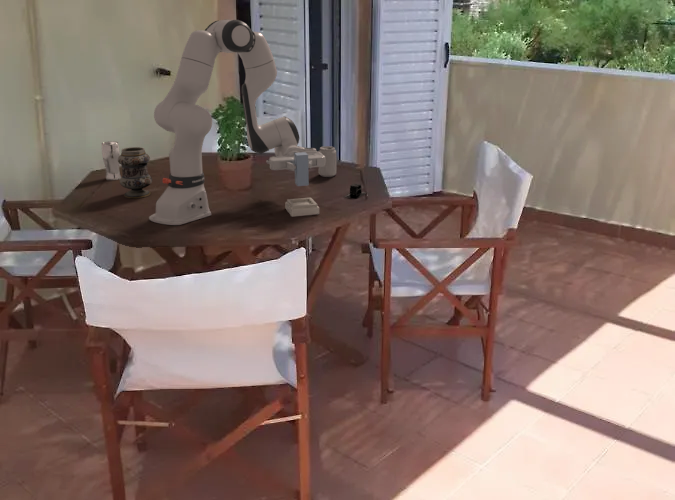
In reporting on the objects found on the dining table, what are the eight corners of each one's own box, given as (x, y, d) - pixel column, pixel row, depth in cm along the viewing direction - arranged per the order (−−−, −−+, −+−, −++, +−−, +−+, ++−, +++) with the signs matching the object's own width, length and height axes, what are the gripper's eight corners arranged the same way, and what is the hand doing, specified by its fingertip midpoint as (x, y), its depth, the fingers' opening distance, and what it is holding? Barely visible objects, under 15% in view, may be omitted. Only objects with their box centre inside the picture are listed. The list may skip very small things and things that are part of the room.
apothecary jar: (152, 189, 293) (147, 144, 287) (154, 197, 283) (150, 151, 276) (120, 192, 290) (115, 146, 284) (121, 200, 279) (116, 153, 273)
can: (339, 175, 313) (339, 147, 309) (325, 178, 309) (324, 150, 305) (329, 172, 319) (329, 144, 315) (315, 174, 315) (315, 146, 311)
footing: (319, 214, 263) (319, 204, 262) (291, 216, 260) (291, 207, 259) (312, 206, 272) (312, 197, 271) (285, 208, 269) (285, 199, 268)
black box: (356, 201, 280) (356, 189, 278) (339, 199, 283) (339, 187, 281) (371, 193, 290) (371, 182, 288) (354, 191, 293) (354, 180, 291)
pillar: (308, 185, 262) (308, 154, 258) (297, 186, 260) (296, 155, 257) (305, 182, 265) (305, 152, 261) (295, 183, 264) (294, 152, 260)
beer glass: (121, 175, 314) (118, 140, 308) (122, 179, 307) (119, 144, 302) (104, 177, 312) (100, 141, 306) (105, 181, 305) (101, 145, 300)
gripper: (264, 151, 268) (272, 160, 256) (319, 147, 274) (329, 156, 261) (265, 168, 270) (273, 177, 258) (319, 164, 276) (329, 173, 263)
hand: (302, 166), depth 260 cm, fingers closed on pillar, 4 cm apart
